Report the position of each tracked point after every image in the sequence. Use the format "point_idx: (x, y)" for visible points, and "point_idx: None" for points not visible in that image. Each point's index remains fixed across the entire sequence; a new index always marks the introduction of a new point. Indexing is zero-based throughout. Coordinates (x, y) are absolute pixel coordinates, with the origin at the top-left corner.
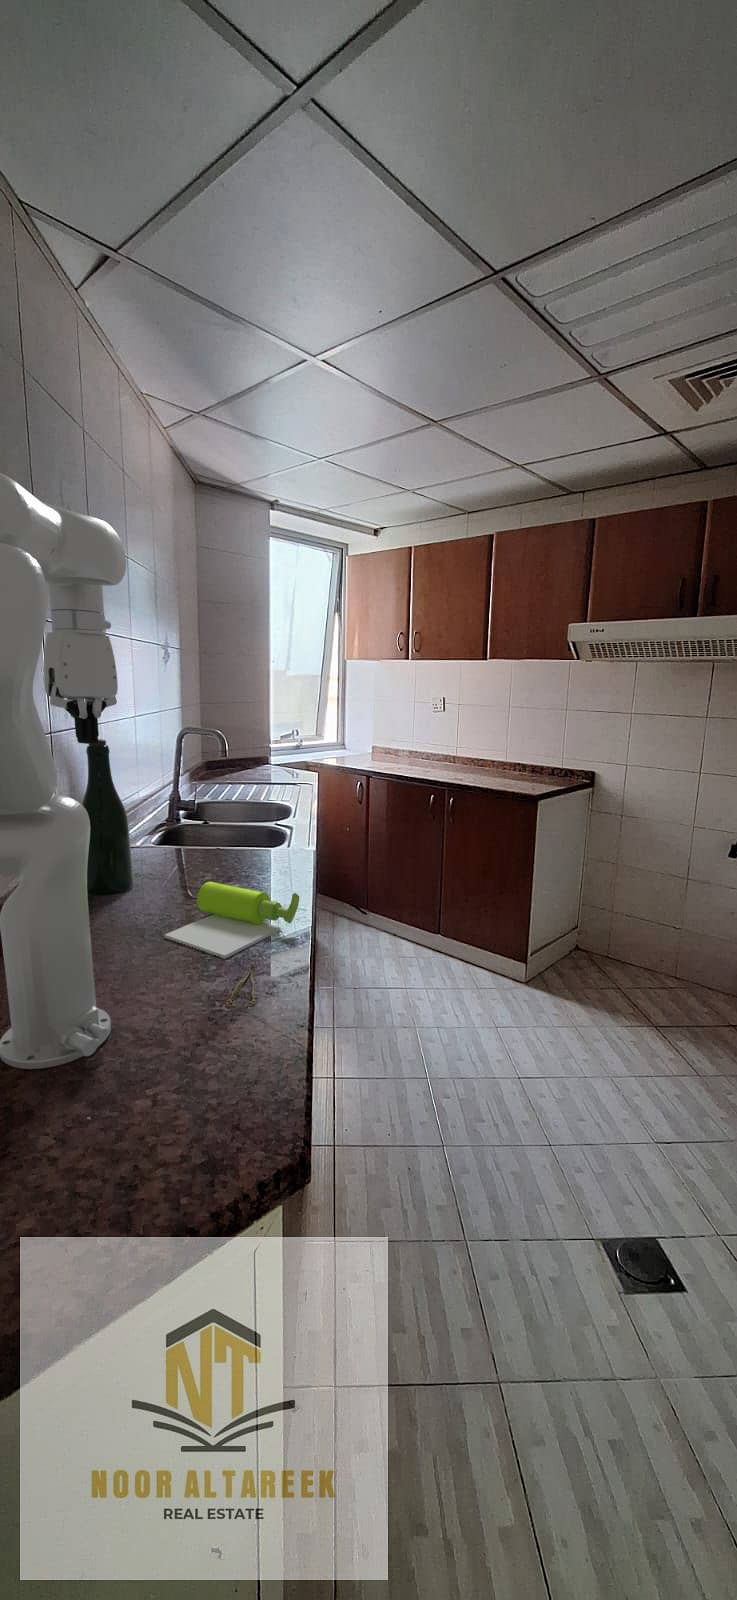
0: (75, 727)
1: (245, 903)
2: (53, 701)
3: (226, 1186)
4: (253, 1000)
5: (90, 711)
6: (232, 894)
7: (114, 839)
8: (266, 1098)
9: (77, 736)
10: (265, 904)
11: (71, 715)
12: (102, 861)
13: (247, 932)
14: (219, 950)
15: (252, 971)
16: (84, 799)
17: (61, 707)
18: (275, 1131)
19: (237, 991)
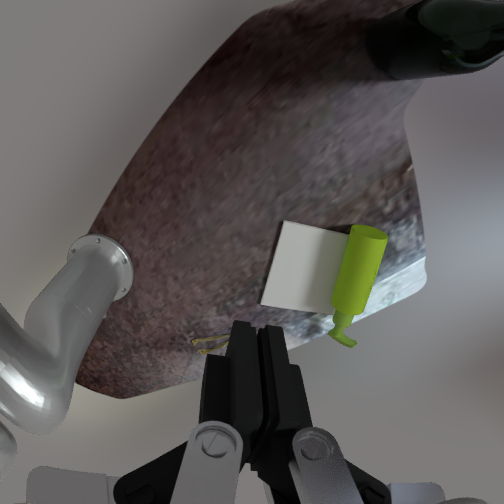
0: (204, 389)
1: (338, 301)
2: (40, 495)
3: (94, 386)
4: (204, 353)
5: (283, 482)
6: (351, 284)
7: (428, 66)
8: (135, 385)
9: (206, 362)
10: (341, 318)
11: (189, 438)
12: (396, 54)
13: (316, 295)
14: (268, 295)
15: None
16: (461, 3)
17: (96, 479)
18: (123, 392)
19: (212, 337)
